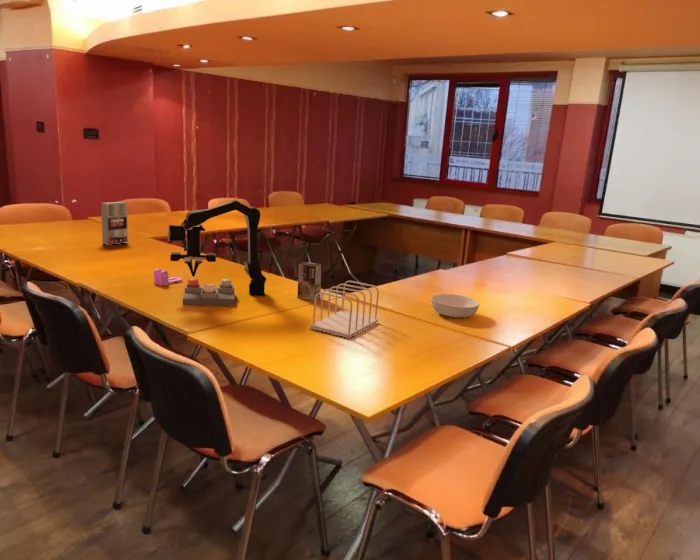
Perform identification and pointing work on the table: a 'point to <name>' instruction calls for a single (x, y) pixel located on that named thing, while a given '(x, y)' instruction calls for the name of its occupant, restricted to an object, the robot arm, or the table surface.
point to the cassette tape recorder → (114, 222)
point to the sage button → (226, 283)
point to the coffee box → (309, 280)
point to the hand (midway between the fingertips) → (193, 276)
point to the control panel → (209, 296)
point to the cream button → (209, 288)
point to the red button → (193, 282)
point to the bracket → (164, 278)
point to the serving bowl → (454, 305)
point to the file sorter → (345, 314)
